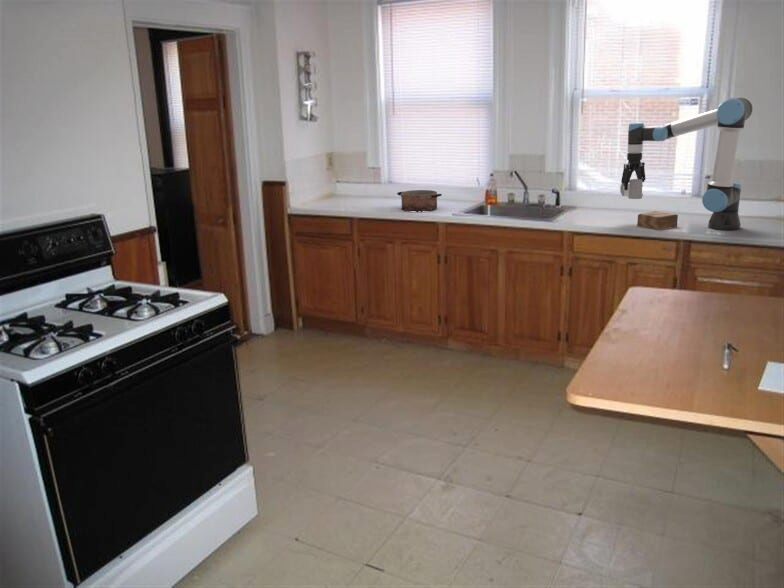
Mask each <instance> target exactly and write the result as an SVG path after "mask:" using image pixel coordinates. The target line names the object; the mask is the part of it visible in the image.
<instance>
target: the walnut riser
mask: <svg viewBox="0 0 784 588" xmlns="http://www.w3.org/2000/svg"><path fill="white" fill-rule="evenodd" d="M678 217H679V214H677V213H671V212H670V213H669V212H663V211H656V210H655V211H649V212H643V213H639V214H637V227H641V226H642V227H643V228H647V227H648V228H647V229H652V228H654V229H653V230H658V229H661V230H665V228H666V229H670V227H671V228H676V227H678ZM642 227H641V228H642Z"/></svg>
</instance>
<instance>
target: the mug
mask: <svg viewBox="0 0 784 588" xmlns="http://www.w3.org/2000/svg"><path fill="white" fill-rule="evenodd" d="M628 184H630V188H629V196H627V197H628V198H627V199H630V200H640V199H643V196H644V194H643V187H644V185H643V182H642V179H637V178H630V181H629V183H628ZM619 191H620V194H621V196H622V197H625V196H624V184H623V183H621V184H620V187H619Z"/></svg>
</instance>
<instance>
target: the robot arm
mask: <svg viewBox="0 0 784 588" xmlns="http://www.w3.org/2000/svg"><path fill="white" fill-rule="evenodd" d="M752 113H753V103H752V102H751V101H750V100H749V99H747V98H745V97H733V98H732V97H731V98H728V99H726V100H723V101H722V102H721V103H720V104H719V105H718V107H717V109H714V110H713V109H711V110H709V111H706V112H703V113H700V114H695V115H692V116H690V117H686V118H683V119H678V120H676V121H673V122H668V123H666V124H662V125H655V126H654V125H653V126H652V125H650V126H649V125H648V126H646V125H645V124H644V122H639V121H638V122H630V123H629V124H628V131H627V133H628V134H627V154H626V159H627V163H624V164H623V171H622V175H621V184H622V183H623V184H624V196H623V197H628V196H629V188H630V184H629V181H630V179H632V178H631V177H632V174H633V173H634V172H635V176H636V179H642V183H644V182H645V181H646V170H645V164H646V162H644V161H642V159H643V149H644V147H643V145H644V142H656V143H657V142H665V141H666V140H668V139H669V140H670V139H671V138H674V137H679V136H681V135H686V134H688V133H693V132H696V131H699V130H703V129H707V128H711V127H714V126H716V127H717V128H718V130H719V135H718V141H717V147H716V151H715V152H716V153H715V159H714V164H713V170H712V176H711V179H710V181H709V182H707V186H706V191H704V193H703V195H702V198H701V199H702V200H701V201H702V206H703V207H704V208H705V209H706V210H707V211H709V212H712V214H711V216H710V219H709V221H708V224H707V227H708V228H710V229H713V230H720V231H721V230H722V231H735V230H736V231H737V230H740V229H741V225H742V224H741V219H740V216H739V207H740V201H741V192H742V186H741V184H740V183H733V182H732V181H731V180H732V176H733V170H734V165H735V159H736V152H737V147H738V143H739V136H740V132H741V131H742V130H744V129H745V128H744V127H745V122H746V121H747V120H748V119H749V118H750V117H751V116H752Z"/></svg>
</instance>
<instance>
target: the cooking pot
mask: <svg viewBox="0 0 784 588" xmlns="http://www.w3.org/2000/svg"><path fill="white" fill-rule="evenodd" d="M437 192H438V191H436V190H430V189H416V190H415V189H414V190H413V189H412V190H406V191H398V192H397V193H396V194H397V196H400V197H401V210H402V211H403V210H405V211H404V212H407V211H421V212H420V213H423V212H422V211H429V212H433V211H436V210H437V209H438V197H441V196H443V194H442V193H437Z"/></svg>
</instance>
